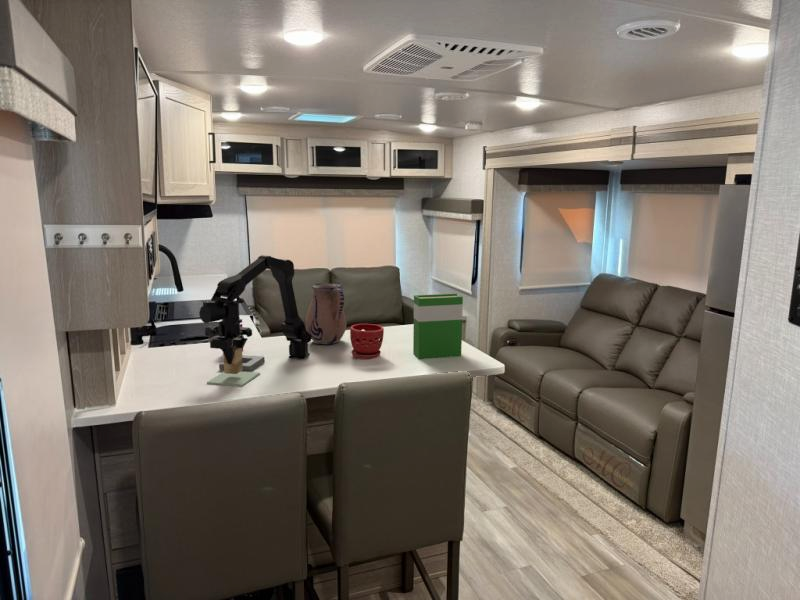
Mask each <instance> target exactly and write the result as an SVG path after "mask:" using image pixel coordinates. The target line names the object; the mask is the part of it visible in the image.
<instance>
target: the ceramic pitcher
mask: <svg viewBox="0 0 800 600" xmlns="http://www.w3.org/2000/svg"><path fill="white" fill-rule="evenodd" d="M341 287H342V285H341V284H338V283H326V284H325V283H324V284H322V283H316V284H315V285H312V286H311V288H312V289H313V296H312V299H311V302H310V303H309V308H308V311H307V314H306V319H305V328H306V331H307V332H308V333H309V334H310V335H311V336H312V338H311V341H313V342H314V343H316V344H318V345H320V344H321V345H332V344H335V343H338V342H339V341H340V340H341V339H342V338H343V336H345V332H346V330H347V318H346V313H345V310H344V306H345V305H344V304H345V296H344V295H345V294H344V292H343V290H342V289H341Z"/></svg>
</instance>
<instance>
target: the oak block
mask: <svg viewBox="0 0 800 600" xmlns="http://www.w3.org/2000/svg"><path fill="white" fill-rule="evenodd" d="M222 355H223V357H222V358H223V362H224V370H223V372H224V373H228V374H238V373H239V372H241V371H242V370H243V363H242V355H243V351H242V348H235V352H234V356H233V360H232V364H228V362H227V360H226V358H225V355H224V353H223V352H222Z"/></svg>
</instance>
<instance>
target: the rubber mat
mask: <svg viewBox="0 0 800 600" xmlns="http://www.w3.org/2000/svg"><path fill="white" fill-rule="evenodd" d="M260 375H261V372H258V371H251V372H244V371H241V372H239V373H238V374H228V373H224V371H222V372H221V373H220V374H218V375H216V376H214V377H213V378H211V379H210V380H208V381H206V385H217V386H229V387H231V386H232V387H233V386H234V387H244V386H245V385H247V384H248V383H250V382H251V381H253V380H255V378H257V377H258V376H260Z"/></svg>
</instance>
